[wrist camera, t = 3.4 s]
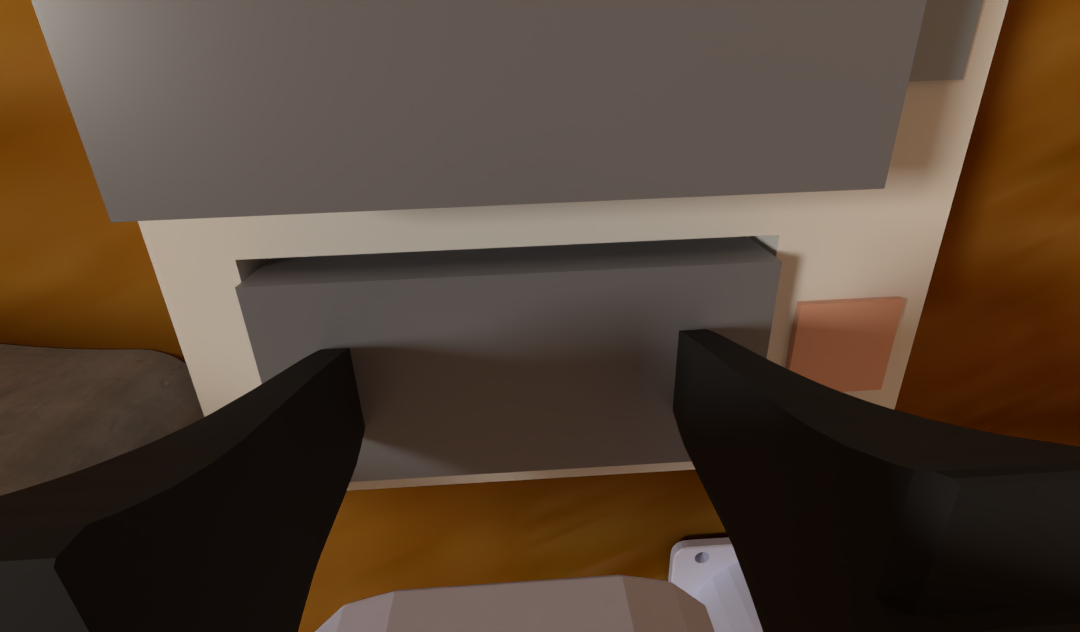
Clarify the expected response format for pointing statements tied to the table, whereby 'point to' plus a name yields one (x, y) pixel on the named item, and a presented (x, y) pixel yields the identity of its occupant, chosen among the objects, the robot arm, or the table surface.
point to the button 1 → (512, 346)
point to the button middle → (476, 100)
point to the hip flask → (85, 408)
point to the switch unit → (767, 219)
